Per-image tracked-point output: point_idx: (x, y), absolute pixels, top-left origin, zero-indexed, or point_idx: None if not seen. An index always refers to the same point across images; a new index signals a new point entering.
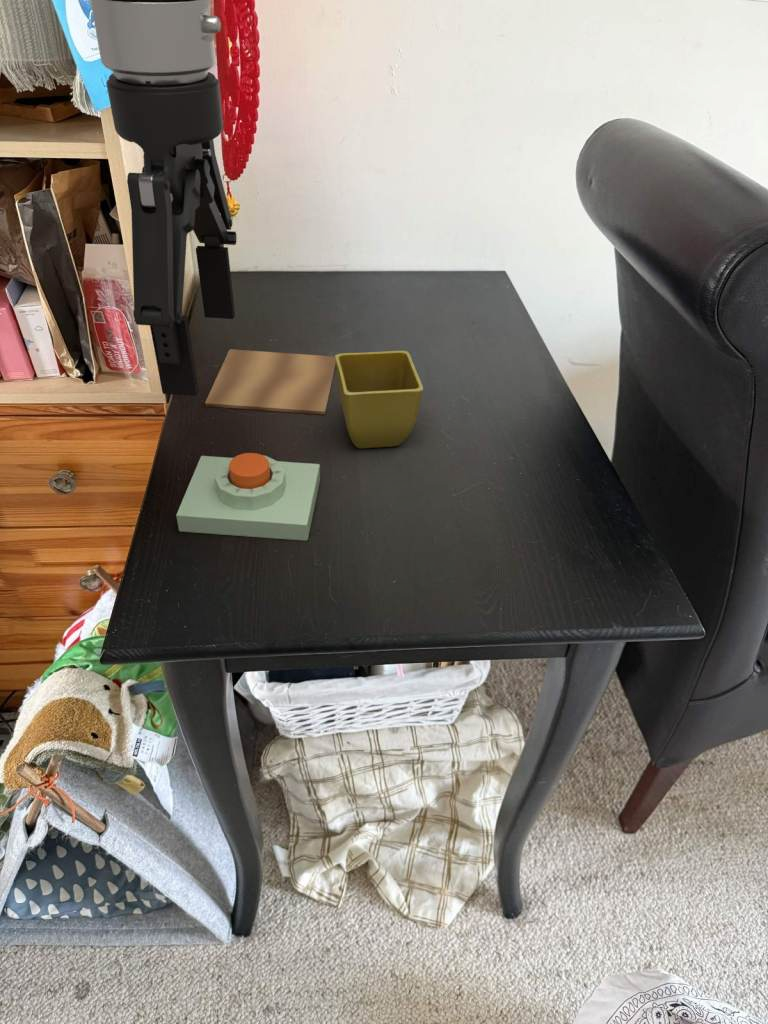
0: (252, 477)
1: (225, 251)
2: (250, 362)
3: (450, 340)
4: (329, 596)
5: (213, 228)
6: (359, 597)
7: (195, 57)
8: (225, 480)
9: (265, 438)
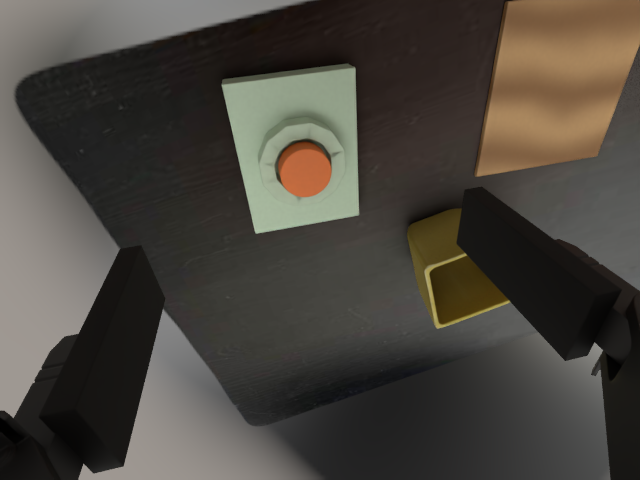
0: (283, 185)
1: (563, 357)
2: (611, 37)
3: (604, 256)
4: (188, 259)
5: (614, 423)
6: (198, 280)
7: None
8: (284, 142)
9: (425, 120)
